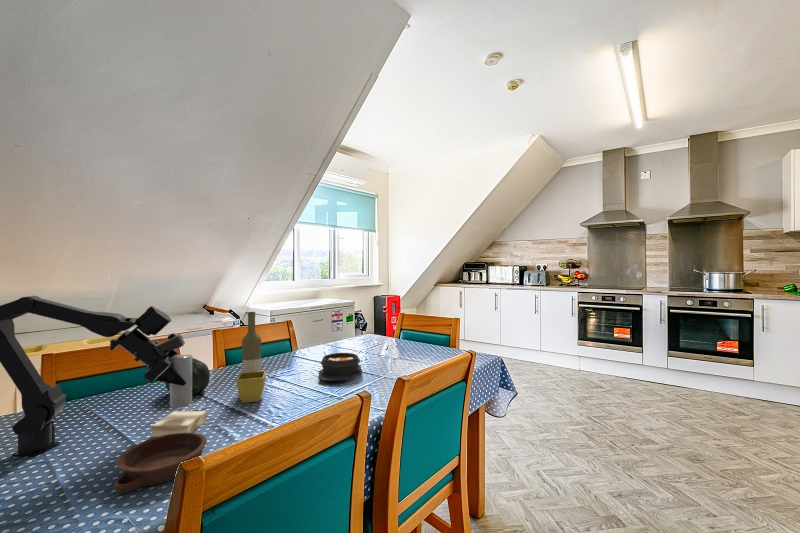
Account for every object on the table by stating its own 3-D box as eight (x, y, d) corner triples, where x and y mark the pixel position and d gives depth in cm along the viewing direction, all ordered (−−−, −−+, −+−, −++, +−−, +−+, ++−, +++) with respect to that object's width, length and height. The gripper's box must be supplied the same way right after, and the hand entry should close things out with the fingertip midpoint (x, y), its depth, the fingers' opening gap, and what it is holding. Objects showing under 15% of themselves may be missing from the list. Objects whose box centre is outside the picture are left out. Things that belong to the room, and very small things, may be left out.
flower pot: (236, 406, 122) (236, 379, 122) (240, 397, 131) (240, 372, 131) (263, 403, 125) (263, 377, 125) (266, 394, 133) (265, 370, 133)
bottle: (258, 386, 143) (258, 310, 143) (264, 391, 137) (263, 312, 137) (239, 389, 138) (239, 311, 138) (244, 395, 133) (244, 313, 133)
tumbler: (180, 408, 103) (180, 359, 103) (165, 406, 105) (165, 358, 105) (196, 401, 109) (196, 355, 109) (181, 399, 110) (181, 354, 110)
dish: (228, 449, 94) (228, 430, 94) (158, 504, 72) (158, 479, 72) (169, 443, 97) (169, 425, 97) (85, 495, 75) (85, 471, 75)
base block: (187, 436, 101) (187, 425, 101) (151, 436, 101) (151, 425, 101) (206, 421, 111) (206, 411, 111) (173, 421, 111) (173, 411, 111)
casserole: (350, 387, 142) (350, 365, 142) (307, 383, 146) (306, 362, 146) (370, 369, 166) (370, 351, 166) (332, 366, 170) (332, 349, 170)
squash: (210, 369, 148) (182, 345, 141) (223, 378, 137) (194, 353, 130) (180, 398, 141) (150, 375, 133) (192, 410, 130) (159, 386, 123)
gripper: (159, 331, 97) (205, 368, 101) (171, 321, 114) (210, 353, 118) (123, 364, 93) (172, 400, 98) (140, 349, 110) (182, 380, 115)
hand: (186, 381), depth 107 cm, fingers closed on tumbler, 6 cm apart
